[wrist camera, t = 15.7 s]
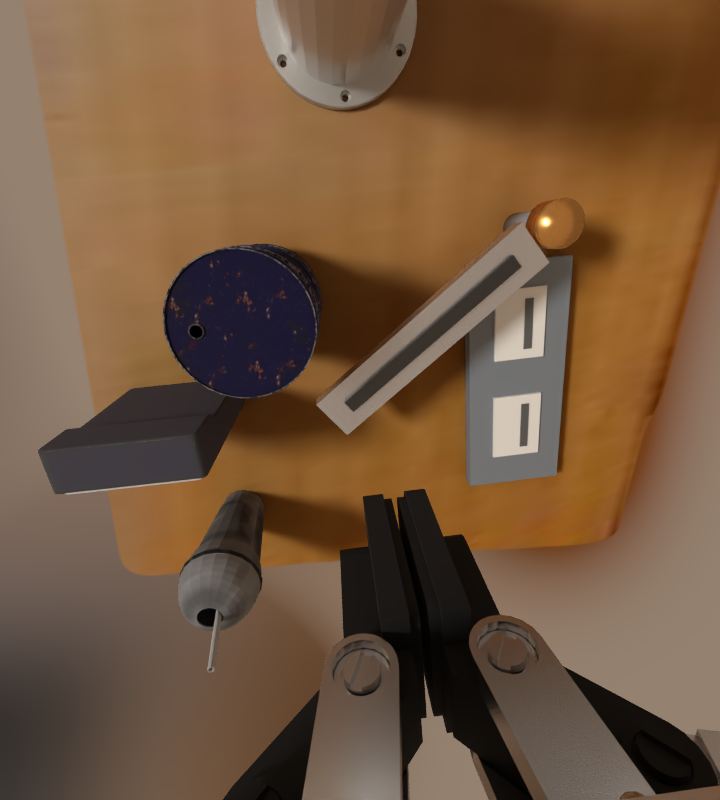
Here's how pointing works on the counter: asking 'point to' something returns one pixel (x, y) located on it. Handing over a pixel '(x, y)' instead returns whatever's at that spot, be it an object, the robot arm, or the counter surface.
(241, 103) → the counter surface
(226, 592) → the beverage cup
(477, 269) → the swing arm
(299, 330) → the blue oil drum
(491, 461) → the label board
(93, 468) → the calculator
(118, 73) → the counter surface
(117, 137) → the counter surface
